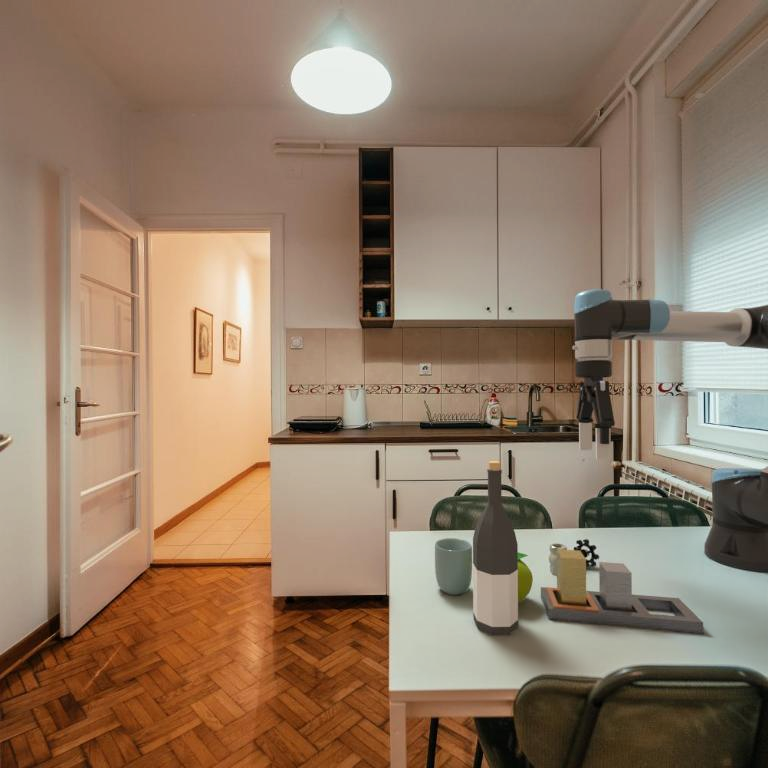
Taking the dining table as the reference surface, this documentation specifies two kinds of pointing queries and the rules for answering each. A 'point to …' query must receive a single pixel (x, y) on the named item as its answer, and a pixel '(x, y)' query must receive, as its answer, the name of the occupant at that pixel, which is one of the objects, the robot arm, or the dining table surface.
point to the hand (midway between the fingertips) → (593, 454)
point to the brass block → (571, 578)
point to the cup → (453, 565)
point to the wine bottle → (495, 564)
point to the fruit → (523, 578)
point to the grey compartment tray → (636, 618)
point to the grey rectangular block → (615, 587)
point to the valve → (584, 551)
